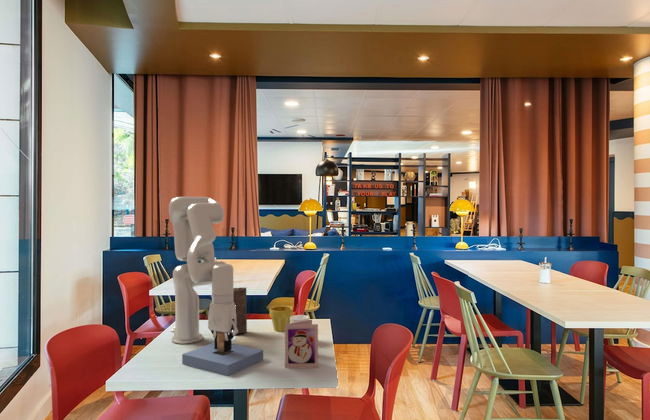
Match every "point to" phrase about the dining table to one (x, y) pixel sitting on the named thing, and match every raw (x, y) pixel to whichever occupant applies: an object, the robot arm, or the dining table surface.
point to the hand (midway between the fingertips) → (223, 349)
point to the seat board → (222, 358)
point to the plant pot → (280, 317)
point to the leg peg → (221, 343)
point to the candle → (240, 308)
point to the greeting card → (301, 345)
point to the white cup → (298, 318)
